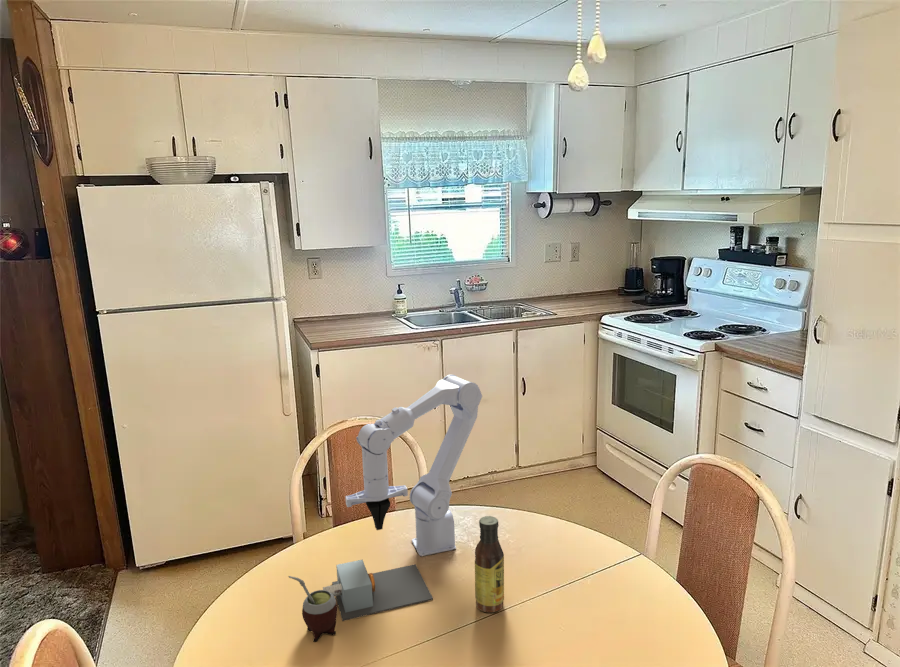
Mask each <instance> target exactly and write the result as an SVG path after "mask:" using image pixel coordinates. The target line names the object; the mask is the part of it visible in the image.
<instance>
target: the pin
mask: <svg viewBox="0 0 900 667" xmlns="http://www.w3.org/2000/svg"><path fill="white" fill-rule="evenodd" d="M373 573H374V572H371V573H370V572H369V573H368V575H369V578H370V581H371V583H372V592H375V581H374V576H373ZM322 590H326V591H328V592H330V593H332V595H333V596H334V597H335V598H336V596H340V595H342V586H341V583H340V584H336V585H326V586H323V587H322Z"/></svg>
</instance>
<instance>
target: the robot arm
mask: <svg viewBox="0 0 900 667" xmlns="http://www.w3.org/2000/svg"><path fill="white" fill-rule="evenodd" d="M482 398H483V394H482V392H481V389H480V386H479V385H478V384H477V383H476V382H472V381H469V380H466V379H463V378H461V377H459V376H457V375H455V374H447V375H446V376H444V377H443V378H442V379H439V380H438V381H437V382H436V384H435V386H434V387H433V388H431V389H430V390H429V391H427V392H426V393H425V394H423V395H422V396H420V397H419V398H418V399H416V400H415V401H414V402H412V403H411V404H410V405H409V406H407V407H403V406H399V407H397V406H395V407H393V408H392V409H391V412H389V413H388V414H386V415H384V416H383V417H381V418H379V419H376V420H375V422H374V423H367V424H365V425H363V426H362V427H361V428H360V430H359V432H358V435H357V436H356V442H357V443H358V445H359V446H360V447H361V455H362V457H361V458H362V459H361V460H362V475H363V490H361V491H357V492H355V493H353V494H349V495H345V505H346V507H347V508H351V507H352V506H354V505H359V504H364V503H365V504H366V506H367V508H368V510H369V512H370V514H371V516H372V520H373V524H374V528H375V530H376V531H381V530H383V527H384V522H385V518H386V516H387V513H388V511H389V510H390V507H391V501H390V499H391V498H396V497H401V496H402V497H408V496H409V501H410V504H412V505H413V506H414V511H415V512H414V514H415V536H416V537H414V538H412V539H411V542H412V544H413V546H414V548H415V549H416V551H417V553H418V555H419V556H420V557H423V556H424V557H425V556H429V555H433V554H439V553H443V552H447V551H452V550H456V549H457V546H456V539H455V538H456V537H455V536H456V533H455V532H456V531H455V520H454V519H455V518H454V516H453V513H452V511H451V509H449V508H450V500H451V498H452V494H453V492H452V488H451V485H450V480H451V478H452V476H453V473H454V471H455V469H456V466H457V464H458V462H459V460H460V457H461V455H462V452H463V450H464V447H465V446H466V444H467V441H468V439H469V437H470V434H471V432H472V430H473V428H474V426H475V423H476V421H477V418H478V412H479V405H480V403H481V400H482ZM441 405H445V406H447V405H448V406H449V407H450V409H451V411H452V414H453V417H452V420H451V421H450V424H449V426H448V428H447V431H446V433H445V436H444V438H443V440H442V441H441V444H440V446H439V449H438V450H437V453H436V456H435V458H434V460H433V462H432V464H431V467H430V469H429V471H428V473H426V474H423V475H421V476H420V477H419V480H418V481H417V483H416V484H415V485H414V486H413V487H412V489H411V490H410V492H409V491H408V487H407V485H390V486H389V470H388V469H389V468H388V450H389V449H390V447H391V445H392V443H393V442H394V440H396V439H398V437H400V436H401V435H403V434H404V433H406V432H408V431H409V430H410V429H412V428H413V427H414V426H415V421H416V420H417V419H419V418H421V417H422V416H424V415H426V414H427V413H429V412H431V411H432V410H434V409H436V408H437V407H439V406H441ZM408 492H409V493H408Z"/></svg>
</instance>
